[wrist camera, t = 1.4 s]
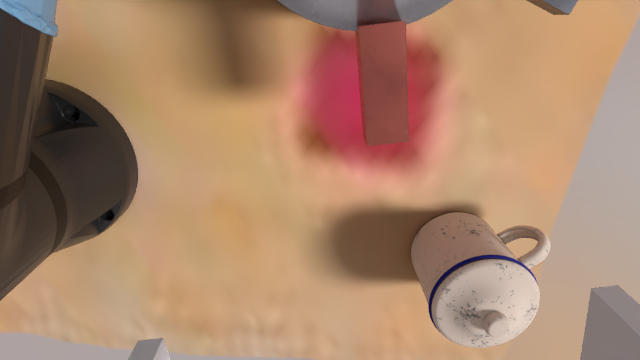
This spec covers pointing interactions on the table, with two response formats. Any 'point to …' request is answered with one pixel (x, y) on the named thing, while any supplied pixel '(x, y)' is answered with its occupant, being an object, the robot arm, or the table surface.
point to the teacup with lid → (477, 278)
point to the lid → (375, 56)
